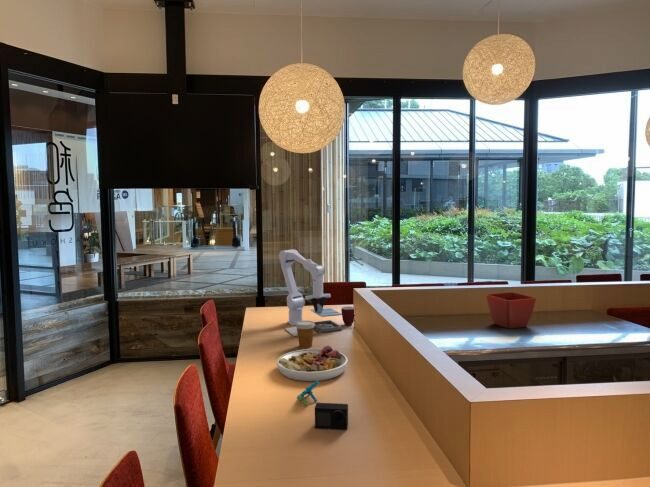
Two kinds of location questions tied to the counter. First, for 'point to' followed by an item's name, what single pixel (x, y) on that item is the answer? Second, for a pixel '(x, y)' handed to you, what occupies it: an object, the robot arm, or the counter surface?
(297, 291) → the robot arm
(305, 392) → the blue green plastic toy
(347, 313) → the mug
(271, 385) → the counter surface
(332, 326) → the grey rectangular tray
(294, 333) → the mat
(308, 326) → the disposable coffee cup
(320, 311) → the lid
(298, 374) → the bowl
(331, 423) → the digital camera
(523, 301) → the plant pot
